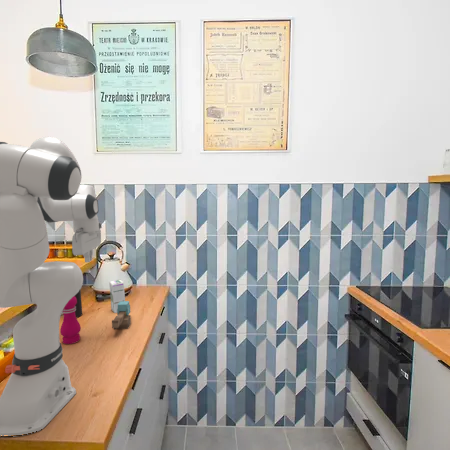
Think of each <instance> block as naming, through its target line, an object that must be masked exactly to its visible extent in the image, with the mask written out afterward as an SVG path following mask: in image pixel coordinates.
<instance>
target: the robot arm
mask: <svg viewBox="0 0 450 450" xmlns="http://www.w3.org/2000/svg"><path fill="white" fill-rule="evenodd" d="M82 176H83V175H82V170H81V167H80V165H79V163H78V160H77V158H76V156H75V155H74V153H73V152H72V150H71V149H70V148H69V147H68V146H67V145H66V144H65V143H64V142H63V140H61V139H59V138H57V137H53V136H44V137H43V136H42V137H40V138H38V139H36V140H34V141H33V142H32V143H31V145H30V146H27V145H21V144H14V143H13V144H11V143H8V142H5V141H0V308H1V309H2V308H3V309H6V308H12V307H18V306H19V307H20V306H25V305H26V306H27V305H32V304H33V305H36V309H35V310H34V311H32V312H30V313H29V314H26V315H25V316H23V317H22V318H21V319H20V320H18V321H17V323H16V324H15V325H14V327H13V330H12V337H13V348H14V353H13V359H12V362H11V364H7V365H6V367H5V369H4V370H5V371H4V373H6V374H10V373H11V374H10V376H9V378H8V380H7V382H6V385H5V387H4V389H3V391H2V393H1V395H0V436H1V435H2V436H4V435H8V436H11V435H22V434H27V435H29V434H28V433H31V434H33V433H32V432H34V433H36V431H37V432H39V431H42V430H43V429H45V427H46V426H47V425H48V424H49V423H50V422H51V421H52V420H53V419H54V418H55V417H56V416H57V415H58V413H60V411H61V410H63V408H64V407H65V406H66V405H67V404H68V403H69V402H70V401H71V399H73V398H74V397H75V395H77V391H76V388H75V387H74V386H72V383H71V378H70V377H71V376H70V371H69V366H68V365H67V364H66V363H65V361H64V359H63V351H64V350H63V346H62V342H60V322H61V321H60V320H61V315H62V314H63V313H62V311H63V309H64V307H65V305H66V304H67V303H68V301H69V300H70V299H71V298H72V297H73V296H75V295H76V294H77V293H78V292H79V290H80V289H82V286H83V284H84V275H83V271H82V269H81V268H80V267H79V265H78V264H76V263H75V262H72V261H58V260H57V261H47V262H45V261H46V260H47V258H48V256H49V254H50V248H51V247H50V243H49V238H48V236H49V235H48V230H47V224H46V223H49V224H50V223H58V222H59V223H60V222H73V223H72V224H73V232H74V234H73V235H72V238H71V239H72V240H71V245H72V246H71V249H72V251H71V252H72V254H73V255H74V256H83V258H84V263H91V261H93V254H94V249H96V248H97V247H100V246H101V243H102V231H101V229H102V228H103V227H102V226H103V225H102V223H101V222H100V221H99V217H98V213H99V200H98V199H97V194H96V189H95V187H94V185H92V184H87V183H81V182H82ZM41 429H42V430H41ZM22 436H23V435H22Z"/></svg>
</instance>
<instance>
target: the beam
mask: <svg viewBox="0 0 450 450" xmlns="http://www.w3.org/2000/svg"><path fill="white" fill-rule="evenodd" d="M131 324H132V317H131V314H129V315H127V316H126V311H120V313H119V314H118V315H115V318H114V319H112V320H111V328H112V329H113V330H129V328H130V326H131Z"/></svg>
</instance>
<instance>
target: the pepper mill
mask: <svg viewBox="0 0 450 450" xmlns="http://www.w3.org/2000/svg"><path fill="white" fill-rule="evenodd" d="M76 303H77V299H76V297H75V296H73V297H72V298H71V299H70V300H69V301H68V303H67V304H66V305H65V307H64V309H63V311H62V313H61V314H63V315H62V316H63V320H62V324H61V326H60V328H59V334H60V336H62V338H61V339H62V343H63V344H64V345H72V344H75V343H77V342H79V341H80V339H81V335H80V332H81V329H82V327H81V324H80V322H79V320H78V317H77V318H76V315H75V311H76V306H75V305H76Z"/></svg>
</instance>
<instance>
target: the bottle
mask: <svg viewBox="0 0 450 450" xmlns="http://www.w3.org/2000/svg"><path fill="white" fill-rule="evenodd" d="M81 289H82V288H81ZM81 289H80V290H79V292H78V293H77V294H76V295H75V297H76V299H77V303H76V305H75V306H76V311H75V315H76V318H77V319H78V318H80V317H82V315H83V304H82V291H81Z"/></svg>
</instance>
